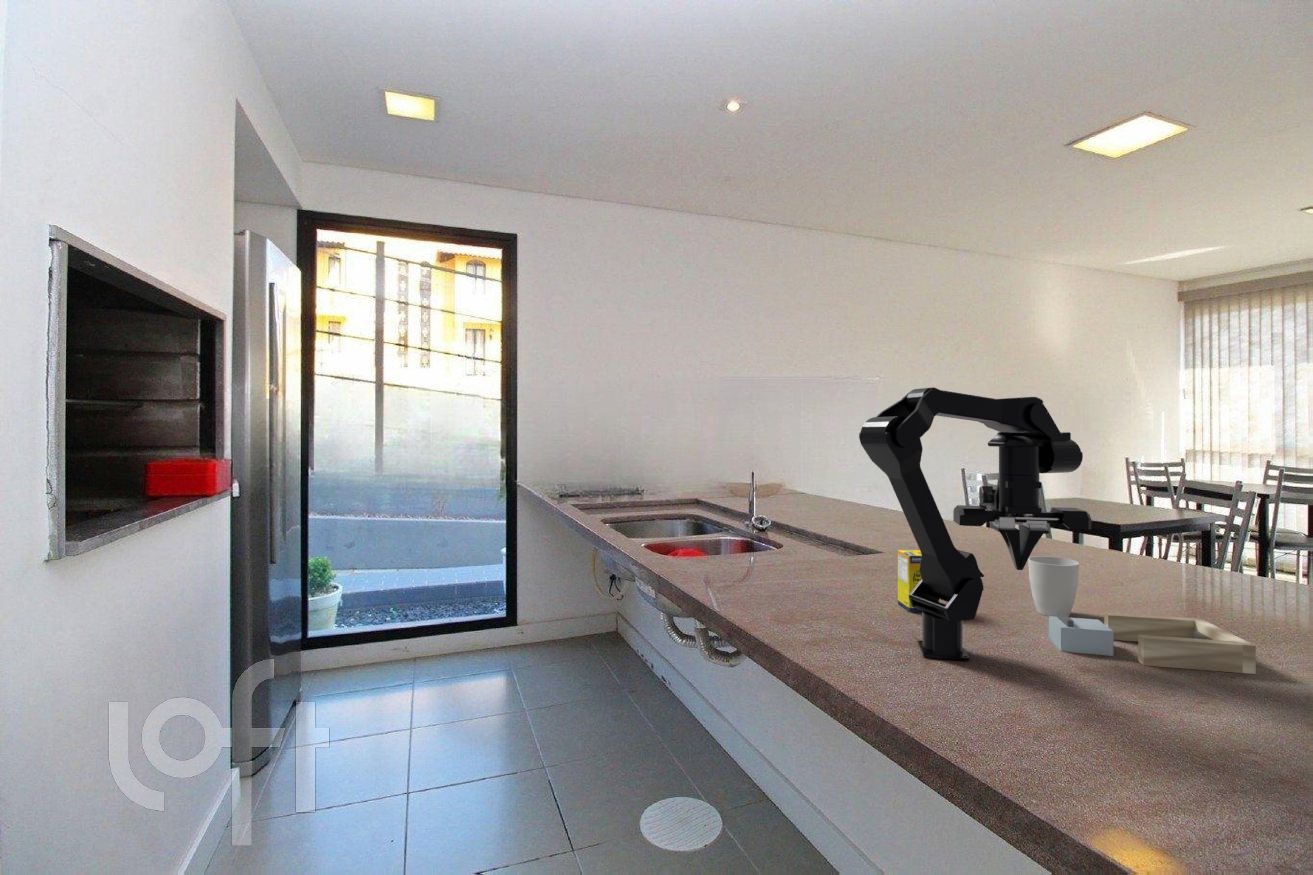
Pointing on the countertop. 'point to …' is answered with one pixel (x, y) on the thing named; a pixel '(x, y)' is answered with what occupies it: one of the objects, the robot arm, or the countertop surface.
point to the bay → (1183, 643)
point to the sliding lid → (1080, 635)
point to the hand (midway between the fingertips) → (1019, 569)
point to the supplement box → (908, 576)
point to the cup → (1053, 584)
